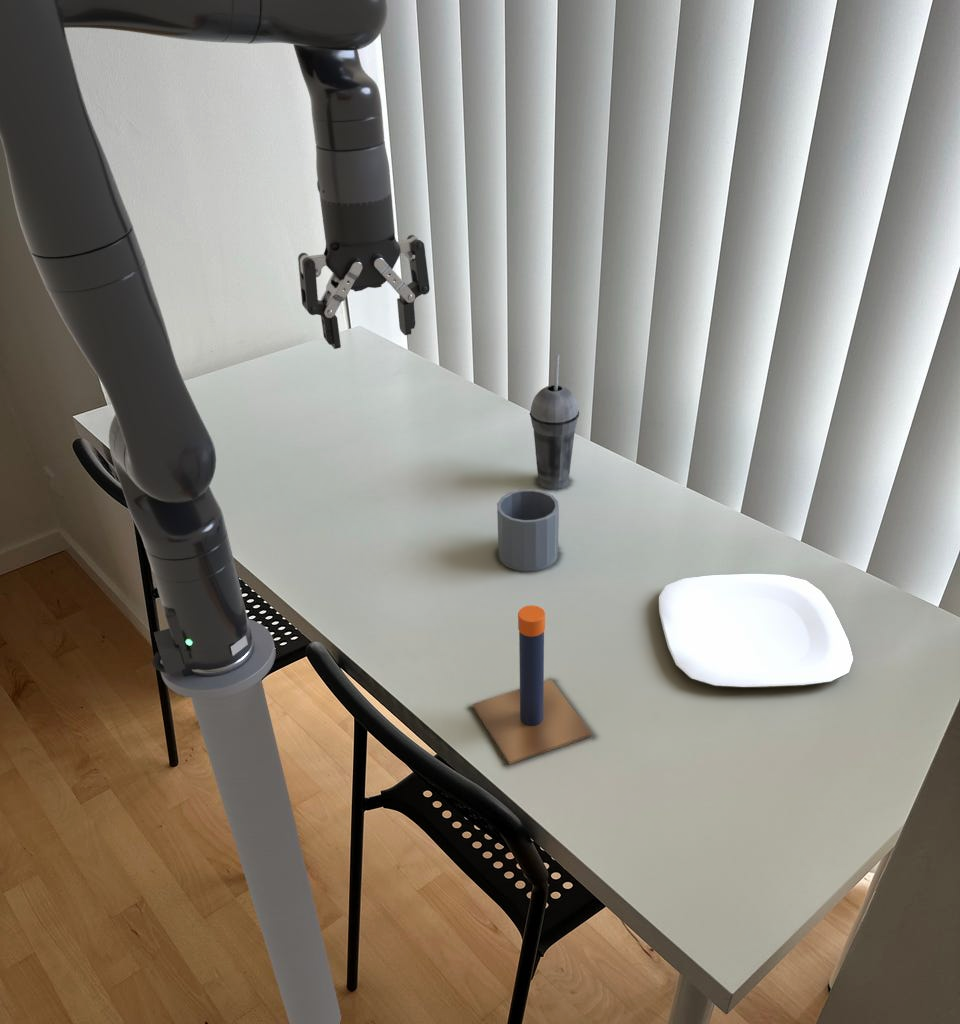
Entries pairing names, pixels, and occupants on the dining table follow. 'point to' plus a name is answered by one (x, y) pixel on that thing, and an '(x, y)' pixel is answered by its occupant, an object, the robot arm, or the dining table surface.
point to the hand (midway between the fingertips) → (371, 339)
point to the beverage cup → (554, 432)
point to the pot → (528, 530)
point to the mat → (530, 740)
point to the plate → (753, 631)
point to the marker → (531, 663)
